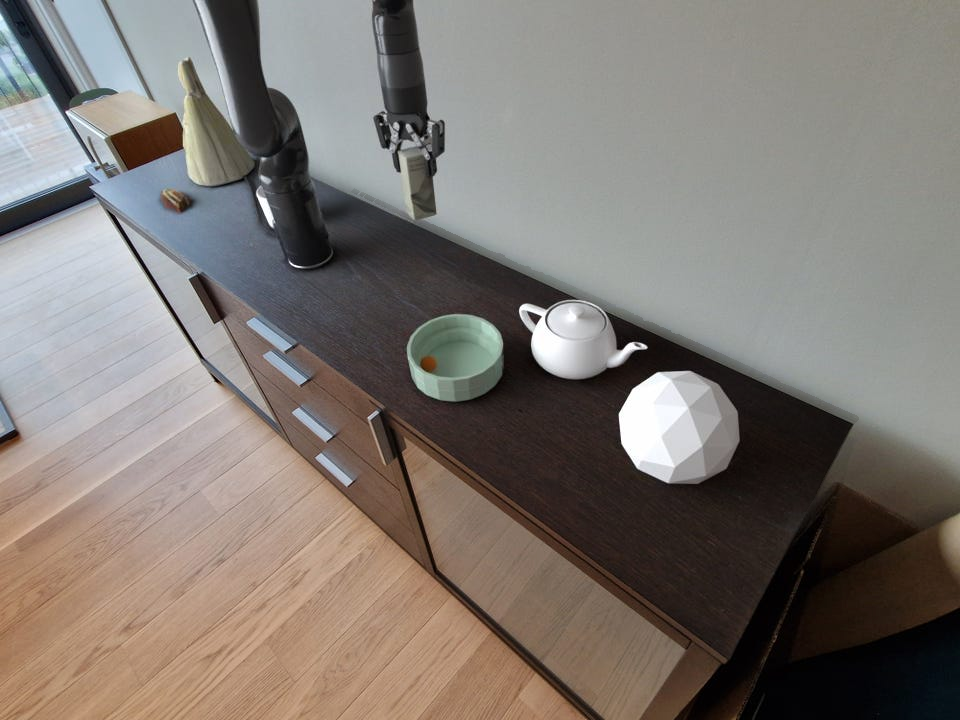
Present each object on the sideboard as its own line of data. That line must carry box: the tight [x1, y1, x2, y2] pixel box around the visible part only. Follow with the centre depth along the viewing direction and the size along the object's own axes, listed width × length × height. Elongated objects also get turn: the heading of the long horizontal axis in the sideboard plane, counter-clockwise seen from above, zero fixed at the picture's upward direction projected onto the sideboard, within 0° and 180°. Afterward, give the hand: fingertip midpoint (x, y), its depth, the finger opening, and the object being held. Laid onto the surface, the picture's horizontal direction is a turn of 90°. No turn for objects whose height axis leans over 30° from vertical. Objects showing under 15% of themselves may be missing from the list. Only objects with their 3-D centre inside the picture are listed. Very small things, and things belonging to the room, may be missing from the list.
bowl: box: [406, 313, 505, 403], centre depth 86 cm, size 15×15×6 cm
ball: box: [421, 356, 437, 372], centre depth 86 cm, size 3×3×3 cm
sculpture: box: [177, 55, 255, 187], centre depth 136 cm, size 17×18×30 cm
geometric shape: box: [618, 370, 740, 485], centre depth 68 cm, size 14×15×15 cm
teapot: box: [518, 299, 649, 380], centre depth 84 cm, size 22×14×11 cm, turn 54°
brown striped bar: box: [160, 188, 191, 213], centre depth 135 cm, size 14×6×2 cm, turn 49°
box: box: [398, 145, 438, 221], centre depth 102 cm, size 5×4×13 cm
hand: (415, 173), depth 101 cm, fingers closed on box, 6 cm apart
